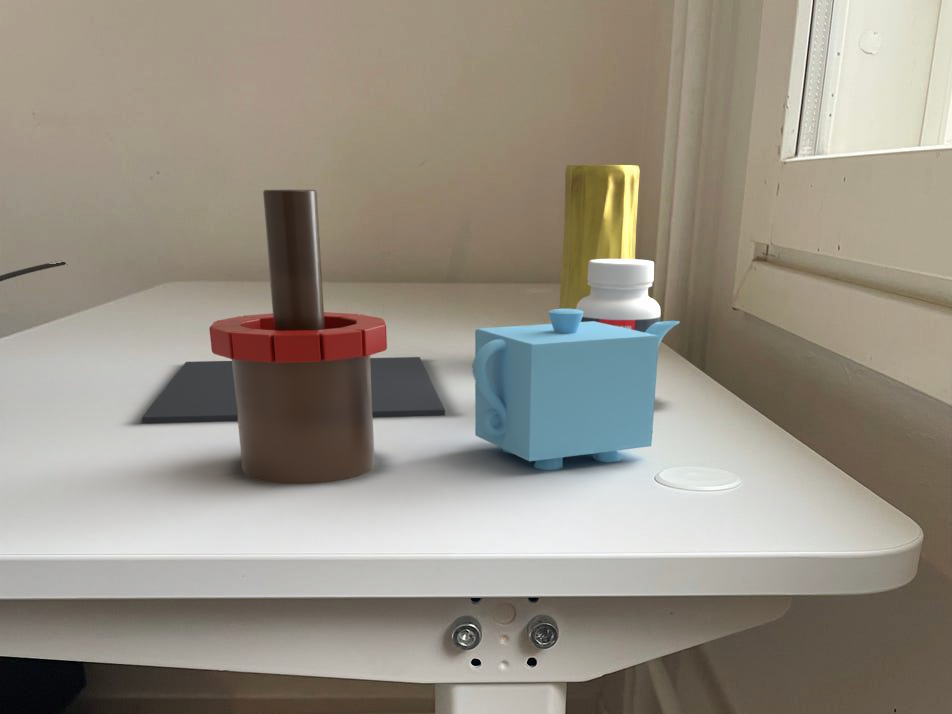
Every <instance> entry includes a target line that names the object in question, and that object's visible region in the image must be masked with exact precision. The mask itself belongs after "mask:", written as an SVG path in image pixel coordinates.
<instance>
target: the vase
mask: <svg viewBox="0 0 952 714" xmlns="http://www.w3.org/2000/svg"><path fill="white" fill-rule="evenodd" d="M640 173H641V172H640V166H639V165H637V164H566V166H565V170H564V188H565V189H564V210H563V211H564V212H563V213H564V214H563V215H564V216H563V242H562V243H563V245H562V258H561V259H562V261H561V273H560V290H559V302H558V303H559V305H558V306H559V307H558V309H576V307H577V304H578V303H579V301H580V300H581V299H583V298H584V297H586V296H589V295H590V292H591V286H589V285H588V284H587V283H588V265H589V261H590V260H595V259H636V242H637V241H636V240H637V239H636V238H637V222H638V221H637V220H638V206H639V205H638V202H639V184H640Z"/></svg>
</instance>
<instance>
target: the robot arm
mask: <svg viewBox="0 0 952 714" xmlns="http://www.w3.org/2000/svg"><path fill="white" fill-rule="evenodd" d="M49 263H50V262H47V263H43V264H39V265H34V266H29V267H27V268H26V267H25V268H22V269H18V270H14V271H11V272H8V273H7V272H6V273H4V274H0V282H4V281H7V280H10V279H12V278H16V277H20V276H23V275H28V274H30V273H34V272H38V271H43V270H47V269H51V268H57V267H61V266H66V265H67V264H66V263H65V262H61V263H56V264H49ZM65 264H66V265H65Z"/></svg>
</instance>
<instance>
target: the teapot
mask: <svg viewBox="0 0 952 714" xmlns="http://www.w3.org/2000/svg"><path fill="white" fill-rule="evenodd" d="M582 316H583V311H581V310H578V309H559V308H554V309H551V310H549V311H548V317H549V320H550V323H545V324H527V325H513V326H499V327H497V326H496V327H482V328H481V327H480V328H476V329H475V331H474V339H475V341H474V342H475V343H474V349H475V350H474V354H475V355H474V358H473V361H472V369H471V370H472V375H473V379H474V381H475V385H474V388H475V389H474V390H475V391H474V395H475V396H474V399H475V400H474V403H475V404H474V409H475V411H474V414H475V415H474V419H475V420H474V422H475V423H474V428H475V429H474V431H475V432H474V433H475V436H476V437H478V438H480V439H482V440H484V441H485V442H489V444H492V445H494V446H496V447H499V448H501V449H502V452H503V453H505V454H511V455H515V456H517V457H519V458H522V459H523V460H526V461H527V462H534V464H533V467H534V468H536V469H539V470H544V471H545V470H546V471H547V470H548V471H549V470H550V471H552V470H553V471H554V470H559V469H561V468H563V467H564V465H563V464H564V463H563V462H564V460H563V459H564V458H568V457H575V456H576V457H577V456H584V455H592V458H593V460H595V461H598V462H603V463H616V462H619V461H621V460H622V457H621V455H620V453H619V452H618V451H624V450H632V449H641V448H649V447H652V443H653V442H652V441H653V431H654V430H653V428H654V413H655V400H656V388H657V387H656V385H657V373H658V360H659V359H658V357H659V347H660V344H661V343H662V340H663V338H664V337H665V336H666V335H667V333H668V332H669V331H670V330H672V329H673V328H674V327H676V326H677V325H678V324H680V322H681V321H680V320H665V321H663V320H662V321H660V322H656V323H654V324H652V325H651V326H650V327H649V328H648V329H647V330H646V332H645V333H644V332H640V331H636V330H631V329H627V328H622V327H617V326H613V325H608V324H604V323H599V322H595V321H590V322H581V319H582Z"/></svg>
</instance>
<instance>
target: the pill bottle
mask: <svg viewBox="0 0 952 714" xmlns="http://www.w3.org/2000/svg"><path fill="white" fill-rule="evenodd" d="M654 276H655V262H654V261H652V260H648V259H638V258H635V259H595V260H590V261H589V265H588V283H587V284H588V285H589V286H591V292H590V295H589V296H586V297H584V298H583V299H581V300H580V301H579V303H578V304H577V307H576V309H578V310H581V311H583V316H582V319H581V322H590V321H595V322H599V323H604V324H608V325H613V326H617V327H622V328H627V329H631V330H636V331H640V332H644V333H645V332H646V330H647V329H648V328H649V327H650V326H651V325H652V324H654V323H656V322H661V306H660V305H659V303H658V302H657V300H655V299H654V298H652V297H650V296H649V288H651V287H653V283H654V280H655V279H654V278H655V277H654Z"/></svg>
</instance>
